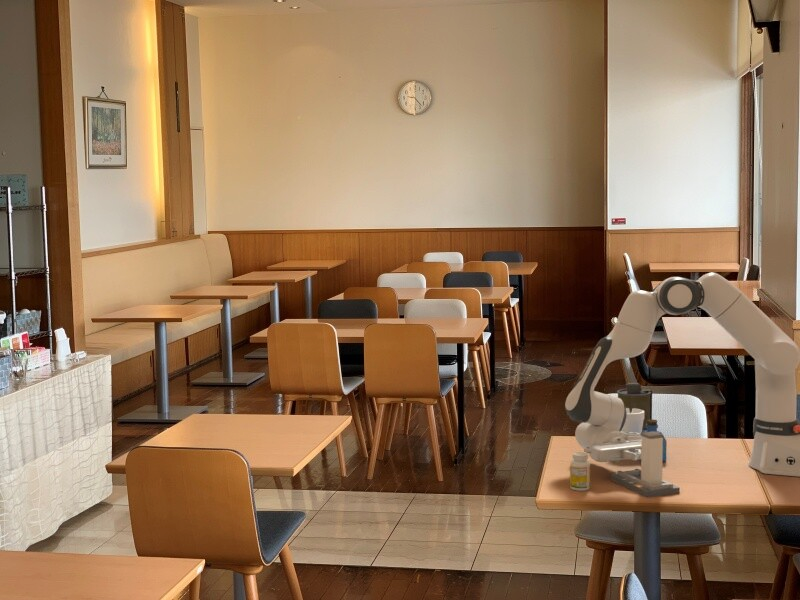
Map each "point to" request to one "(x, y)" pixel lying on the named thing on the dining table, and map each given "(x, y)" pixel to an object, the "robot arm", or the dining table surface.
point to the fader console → (643, 484)
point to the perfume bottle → (652, 427)
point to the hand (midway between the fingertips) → (639, 457)
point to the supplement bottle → (580, 472)
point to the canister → (637, 400)
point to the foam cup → (634, 421)
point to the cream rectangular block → (651, 457)
